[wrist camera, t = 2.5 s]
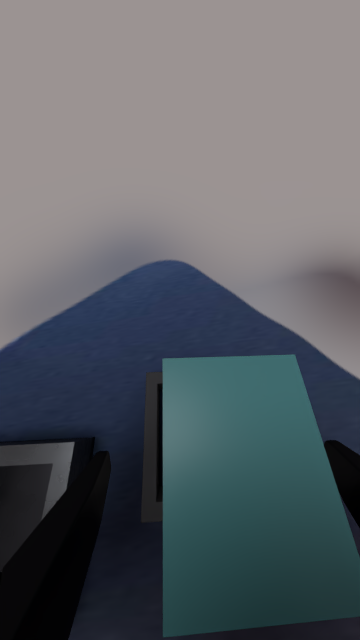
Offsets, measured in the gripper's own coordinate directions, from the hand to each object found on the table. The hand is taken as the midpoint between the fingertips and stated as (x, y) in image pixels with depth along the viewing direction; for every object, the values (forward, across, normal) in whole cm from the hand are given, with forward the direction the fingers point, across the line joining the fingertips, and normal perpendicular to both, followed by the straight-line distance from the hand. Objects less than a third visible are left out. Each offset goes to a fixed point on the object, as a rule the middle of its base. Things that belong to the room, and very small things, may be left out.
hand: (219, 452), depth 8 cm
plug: (+6, 0, +6) cm, 8 cm away
